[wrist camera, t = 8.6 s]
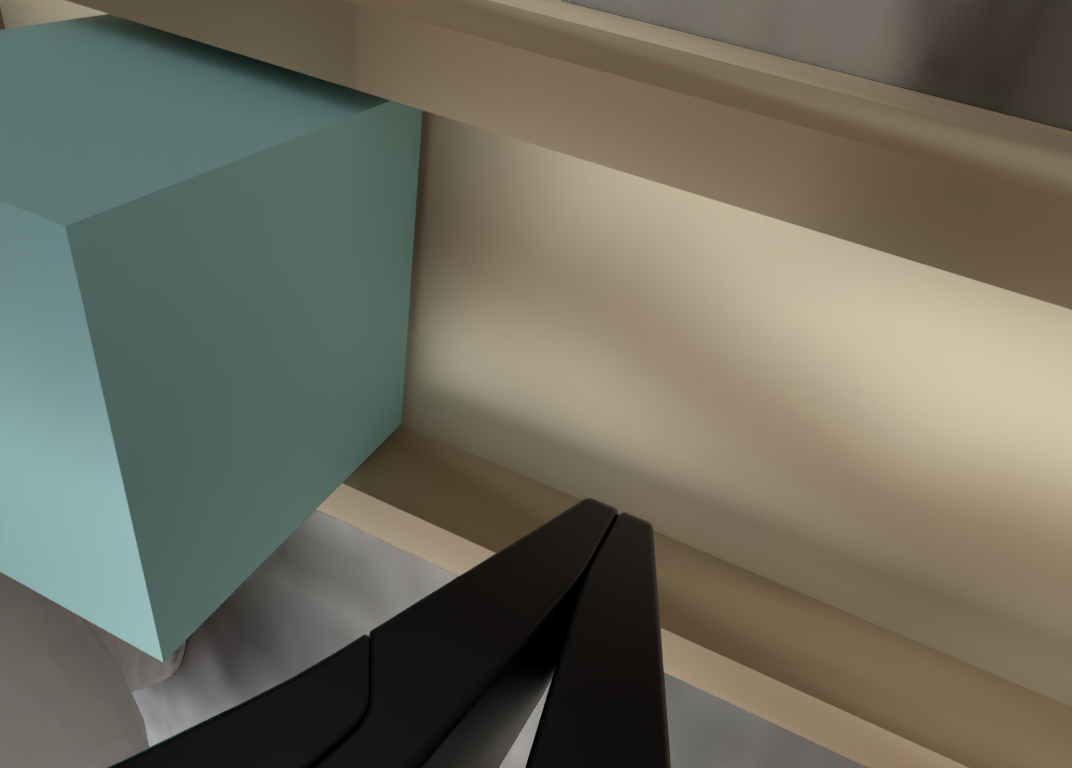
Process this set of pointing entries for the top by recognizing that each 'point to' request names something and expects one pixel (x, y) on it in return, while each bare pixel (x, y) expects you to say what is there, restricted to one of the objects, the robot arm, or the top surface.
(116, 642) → the ceramic pitcher
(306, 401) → the teal block
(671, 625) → the channel
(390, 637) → the robot arm
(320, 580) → the top surface
